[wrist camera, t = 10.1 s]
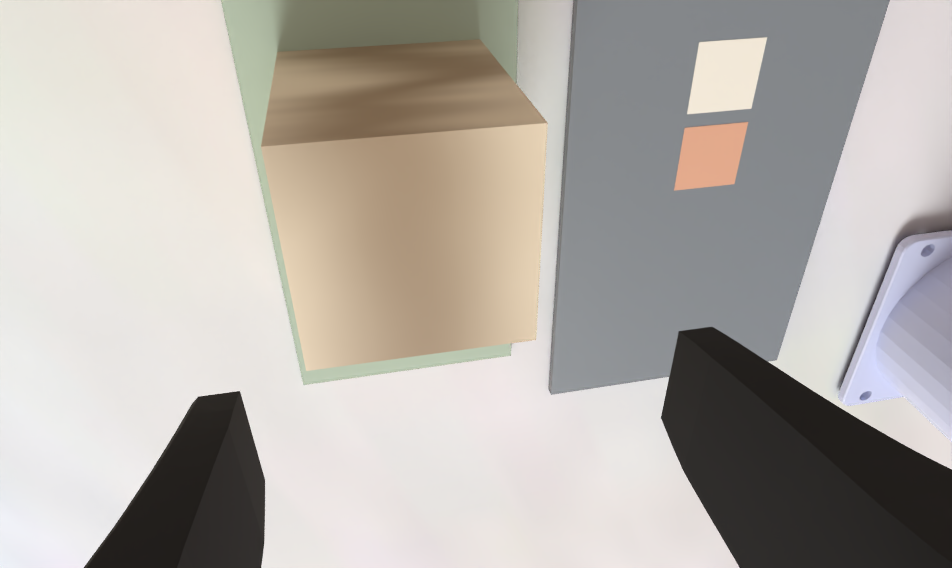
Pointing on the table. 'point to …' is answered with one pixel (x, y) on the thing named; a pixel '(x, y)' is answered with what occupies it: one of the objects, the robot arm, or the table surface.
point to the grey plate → (696, 172)
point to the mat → (340, 26)
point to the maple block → (405, 199)
